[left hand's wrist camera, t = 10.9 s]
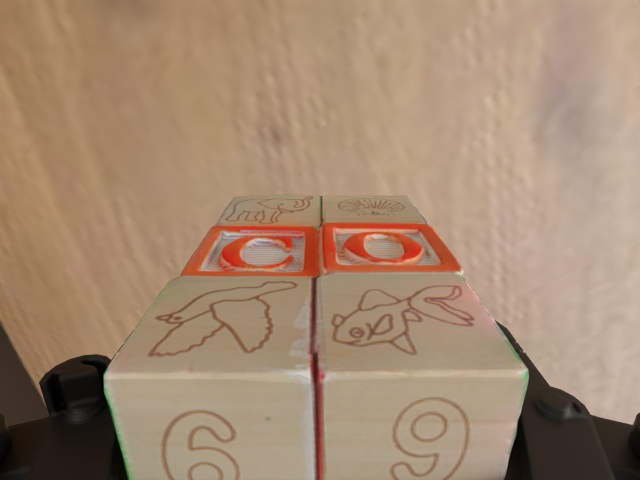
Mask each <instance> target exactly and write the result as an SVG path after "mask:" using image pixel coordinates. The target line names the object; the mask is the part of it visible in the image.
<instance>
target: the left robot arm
mask: <svg viewBox="0 0 640 480" xmlns="http://www.w3.org/2000/svg"><path fill="white" fill-rule="evenodd" d="M494 321H495V320H494ZM495 322H496V323H497V325H498V326H499V327H500V329H501V330H502V331H503V333H504V334H505V336H506V337H507V339H508V340H509V342H510V344H511V345H512V347H513V348H514V350H515V351H516V353H517V354H518V356H519V357H520V359H521V360H522V361H523V363H524V364H525V366H526V367H527V368H528V372H529V380H528V386H527V390H526V393H525V397H524V401H523V405H522V409H521V413H520V416H519V419H518V422H517V431H516V437H515V440H514V443H513V446H512V449H511V453H510V456H509V461H508V466H507V471H506V475H505V479H504V480H640V413H639V414H637V416H636V419H635V421H634V424H633V425H630V424H626V423H621V422H617V421H613V420H608V419H604V418H600V417H596V416H593V415H590V413H589V412H588V410H587V408H586V407H585V405H583V404H582V403H581V402H580V401H579V400H578V399H576V398H575V397H574V396H572V395H570V394H568V393H566V392H565V391H563V390H560V389H557V388H554V387H550V386H549V384H548V383H547V382H546V380H545V379H544V378H543V376H542V375H541V374H540V372H539V371H538V370H537V368H536V367H535V366H534V364H533V363H532V362H531V360H530V359H529V358H528V356H527V355H526V354H525V353H523V350H522V348H521V347H520V346H519V344H518V343H516V340H515V339H514V337H513V336H512V335H511V333H510V332H509V331H508V329H507V328H505V327H504V326H503V325H501V324H500V323H498V322H497V321H495ZM133 331H134V330H133ZM133 331H132V332H133ZM130 335H131V334H130ZM128 338H129V337H128ZM128 338H127V339H128ZM125 342H126V341H125ZM123 345H124V344H123ZM123 345H122V346H123ZM122 346H121V347H122ZM120 349H121V348H120ZM120 349H119V350H120ZM119 350H118V352H119ZM115 356H116V354H115ZM115 356H114V357H115ZM114 357H113V358H114ZM113 358H112V360H113ZM112 360H110V359H109V358H108V357H107V356H102V355H97V354H96V355H83V356H80V357H76V358H72V359H69V360H67V361H65V362H63V363H61V364H59V365H57V366H55V367H54V368H53V369H51V370H50V371H49V372H47V373H46V374H45V375H44V377H43V378H42V379H41V381H40V382H39V384H40V387H41V390H42V394H43V397H44V400H45V403H46V406H47V409H48V412H49V417H46V418H43V419H39V420H35V421H31V422H26V423H22V424H18V425H13V426H9V427H8V426H7V423H6V420H5V418H4V416H3V415H2V414H0V480H128V477H127V473H126V469H125V464H124V460H123V456H122V452H121V449H120V445H119V442H118V438H117V435H116V431H115V427H114V423H113V420H112V416H111V412H110V409H109V405H108V402H107V400H106V397H105V394H104V375H103V374H104V373H105V371H106V369H107V368H108V366H109V364H110V363H111V361H112Z"/></svg>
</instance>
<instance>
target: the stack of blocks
mask: <svg viewBox="0 0 640 480" xmlns="http://www.w3.org/2000/svg"><path fill="white" fill-rule="evenodd" d="M462 275H463V269H462V267H461V265H460V264H459V262H458V261H457V260H456V258H455V257H454V256H453V254H452V253H451V252H450V250H449V249H448V248H447V246H446V245H445V243H444V242H443V241H442V240H441V239H440V237H439V236H438V235H437V233H436V232H435V231H434V229H433V228H432V227H431V226H429V225H428V224H427V222H426V220H425V219H424V218H423V216H422V215H421V214H420V213H419V211H418V210H417V209H416V208H415V207H414V205H413V204H412V203H411V201H410V200H409V199H408V197H406V196H317V195H253V196H238V197H235V198H233V200H232V201H231V202H230V204H229V205H228V206H227V208H226V209H225V211H224V212H223V214H222V216H221V218H220V219H219V221H218V223H217V224H216V226H214V227H212V228H211V229H210V230H209V232H208V233H207V235H206V237H205V238H204V239H203V241H202V242H201V244H200V245H199V247H198V249H197V250H196V251H195V253H194V254H193V255H192V257H191V258H190V260H189V261H188V263H187V265H186V266H185V268H184V269H183V271H182V273H181V275H180V277H177V278H174V279H172V280H171V281H169V282H168V283H167V285H166V286H165V288H164V289H163V290H162V291H161V293H160V294H159V295H158V297H157V298H156V300H155V302H154V303H153V304H152V305H151V307H150V308H149V309H148V311H147V312H146V313H145V315H144V316H143V317H142V319H141V320H140V322H139V323H138V325H137V326H136V328H135V329H134V331H133V332H132V333H131V335H130V336H129V338H128V339H127V340H126V342H125V343H124V345H123V346H122V347H121V349H120V350H119V352H118V353H117V354H116V356H115V357H114V358H113V360H112V361H111V363H110V364H109V366H108V368H107V369H106V371H105V373H104V374H103V375H104V394H105V397H106V400H107V402H108V405H109V409H110V412H111V416H112V420H113V423H114V427H115V431H116V435H117V438H118V442H119V445H120V449H121V452H122V456H123V460H124V464H125V469H126V473H127V477H128V480H504V479H505V475H506V471H507V466H508V461H509V456H510V453H511V449H512V446H513V443H514V440H515V437H516V431H517V422H518V419H519V416H520V413H521V409H522V405H523V401H524V397H525V393H526V390H527V386H528V380H529V372H528V368H527V367H526V366H525V364H524V363H523V361H522V360H521V359H520V357H519V356H518V354H517V353H516V351H515V350H514V348H513V347H512V345H511V344H510V342H509V340H508V339H507V337H506V336H505V334H504V333H503V331H502V330H501V329H500V327H499V326H498V325H497V323H496V322H495V321H494V319H493V318H492V317H491V315H490V314H489V313H488V311H487V310H486V309H485V307H484V306H483V305H482V303H481V302H480V300H479V299H478V297H477V295H476V294H475V292H474V291H473V290H472V288H471V287H470V286H469V285H468V283H467V282H466V281H465V279H464V278H463V277H462Z"/></svg>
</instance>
